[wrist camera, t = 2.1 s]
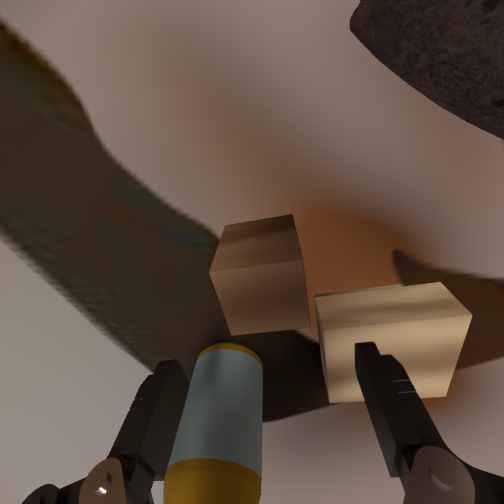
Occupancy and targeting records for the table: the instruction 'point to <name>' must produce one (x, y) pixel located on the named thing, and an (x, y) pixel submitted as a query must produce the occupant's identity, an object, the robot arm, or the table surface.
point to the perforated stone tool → (442, 52)
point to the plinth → (391, 335)
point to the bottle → (219, 431)
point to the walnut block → (261, 276)
